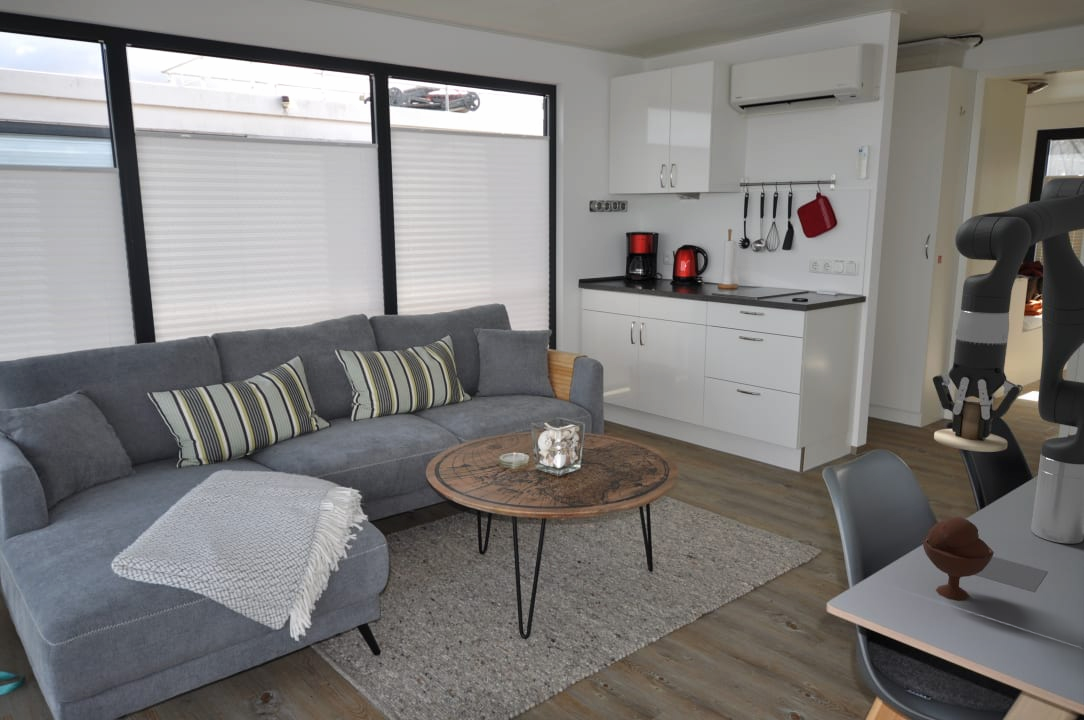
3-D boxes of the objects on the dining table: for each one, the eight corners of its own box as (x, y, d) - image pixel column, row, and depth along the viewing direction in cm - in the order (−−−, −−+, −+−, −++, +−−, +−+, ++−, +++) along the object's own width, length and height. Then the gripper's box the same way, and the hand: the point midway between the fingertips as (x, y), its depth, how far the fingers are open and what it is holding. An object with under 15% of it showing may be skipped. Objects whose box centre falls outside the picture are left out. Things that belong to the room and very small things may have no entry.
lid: (945, 429, 139) (949, 393, 138) (1014, 442, 131) (1019, 403, 130) (925, 442, 131) (928, 403, 130) (997, 456, 124) (1002, 415, 122)
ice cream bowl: (1002, 607, 133) (1012, 526, 130) (944, 612, 131) (953, 530, 128) (959, 578, 143) (968, 503, 140) (905, 583, 141) (912, 507, 138)
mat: (983, 555, 152) (983, 553, 152) (1047, 573, 145) (1048, 571, 145) (966, 574, 145) (966, 572, 144) (1034, 594, 137) (1034, 592, 137)
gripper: (1035, 340, 126) (1022, 441, 129) (943, 331, 135) (933, 425, 139) (1024, 345, 120) (1011, 450, 124) (929, 335, 130) (919, 433, 133)
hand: (970, 436), depth 131 cm, fingers closed on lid, 3 cm apart
